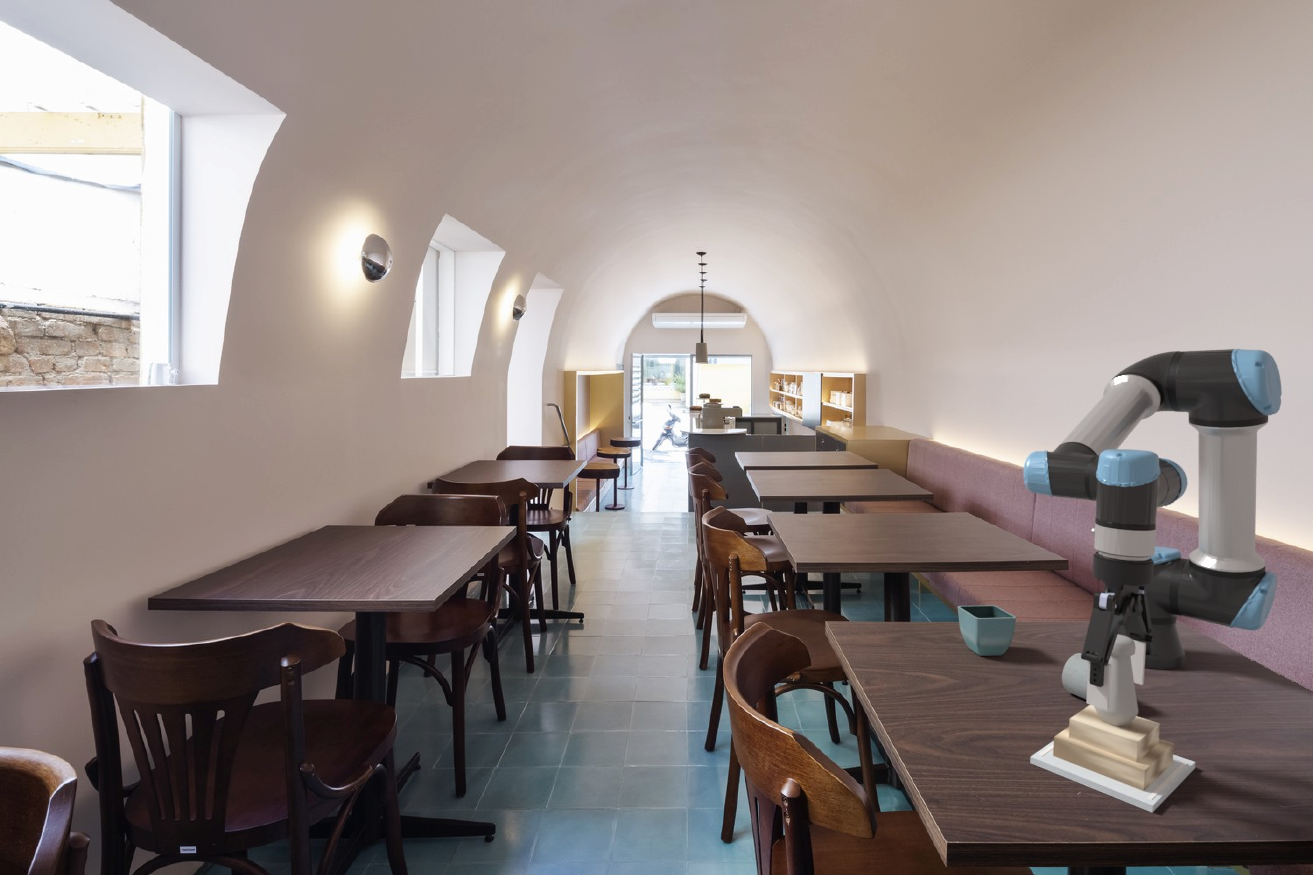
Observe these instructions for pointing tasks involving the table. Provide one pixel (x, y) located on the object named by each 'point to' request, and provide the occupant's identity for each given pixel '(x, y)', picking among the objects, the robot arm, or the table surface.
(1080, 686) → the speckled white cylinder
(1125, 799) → the board
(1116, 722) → the salt shaker
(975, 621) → the flower pot
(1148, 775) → the birch plinth
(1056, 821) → the table surface
